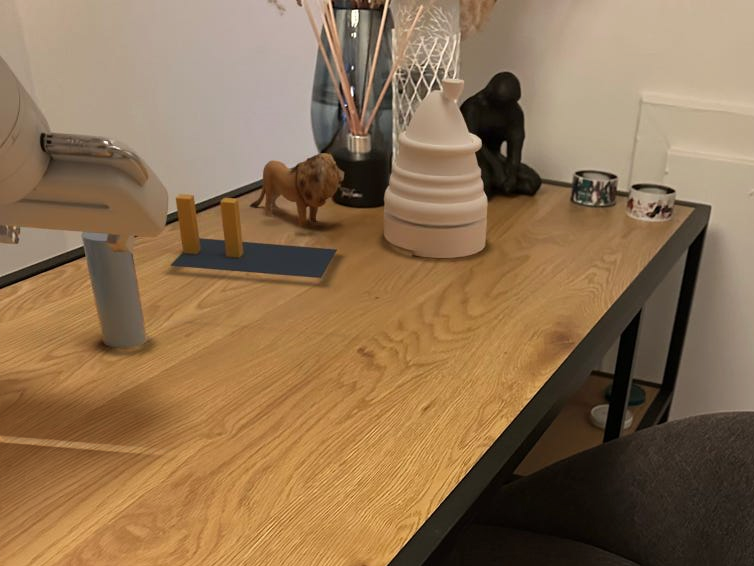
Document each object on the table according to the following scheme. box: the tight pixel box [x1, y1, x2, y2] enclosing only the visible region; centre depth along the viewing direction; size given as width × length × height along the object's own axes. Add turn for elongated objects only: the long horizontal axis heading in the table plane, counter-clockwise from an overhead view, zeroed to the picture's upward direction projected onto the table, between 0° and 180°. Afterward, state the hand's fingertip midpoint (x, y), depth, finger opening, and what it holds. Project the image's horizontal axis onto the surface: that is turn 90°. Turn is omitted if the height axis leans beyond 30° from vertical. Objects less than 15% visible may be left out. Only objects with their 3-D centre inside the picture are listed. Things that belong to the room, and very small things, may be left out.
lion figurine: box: [249, 152, 345, 228], centre depth 118 cm, size 15×5×9 cm, turn 59°
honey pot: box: [383, 77, 489, 259], centre depth 113 cm, size 13×13×18 cm
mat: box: [170, 237, 338, 279], centre depth 108 cm, size 17×10×1 cm, turn 86°
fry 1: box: [175, 193, 201, 254], centre depth 106 cm, size 2×2×6 cm
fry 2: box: [219, 197, 243, 258], centre depth 106 cm, size 2×2×6 cm
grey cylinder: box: [81, 232, 148, 349], centre depth 86 cm, size 4×4×10 cm
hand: (68, 240), depth 76 cm, fingers open, 8 cm apart
